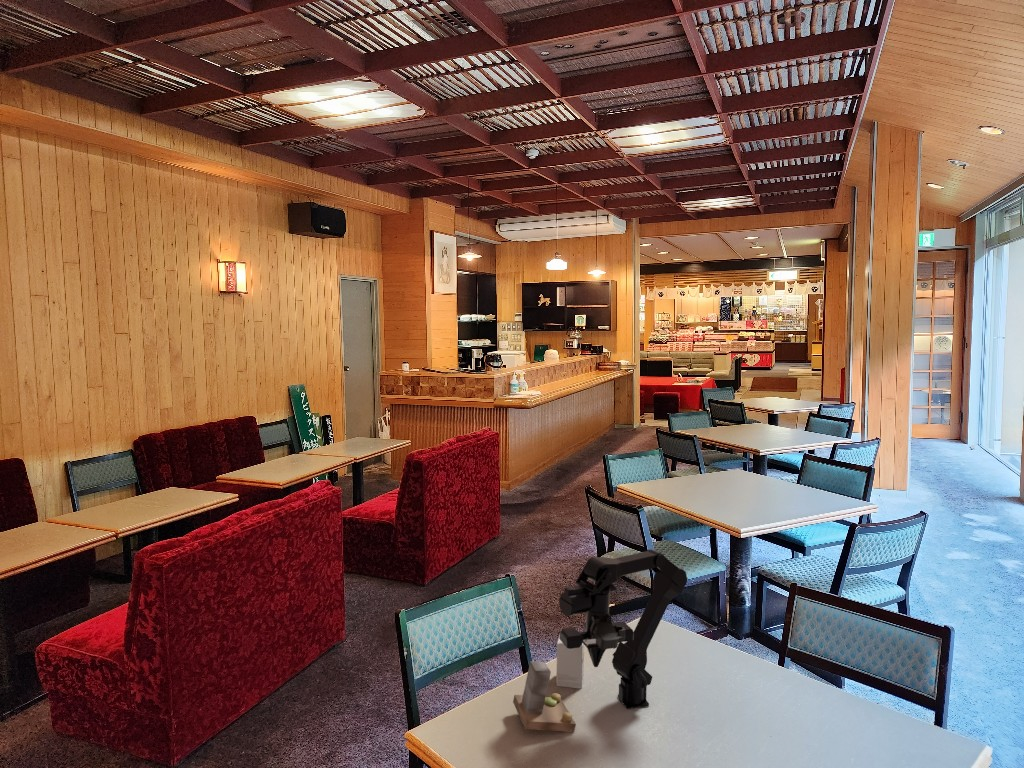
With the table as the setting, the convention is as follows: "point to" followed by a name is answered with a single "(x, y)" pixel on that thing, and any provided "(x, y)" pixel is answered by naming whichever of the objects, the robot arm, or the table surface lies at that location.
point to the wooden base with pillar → (542, 703)
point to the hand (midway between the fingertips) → (595, 666)
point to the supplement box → (569, 666)
